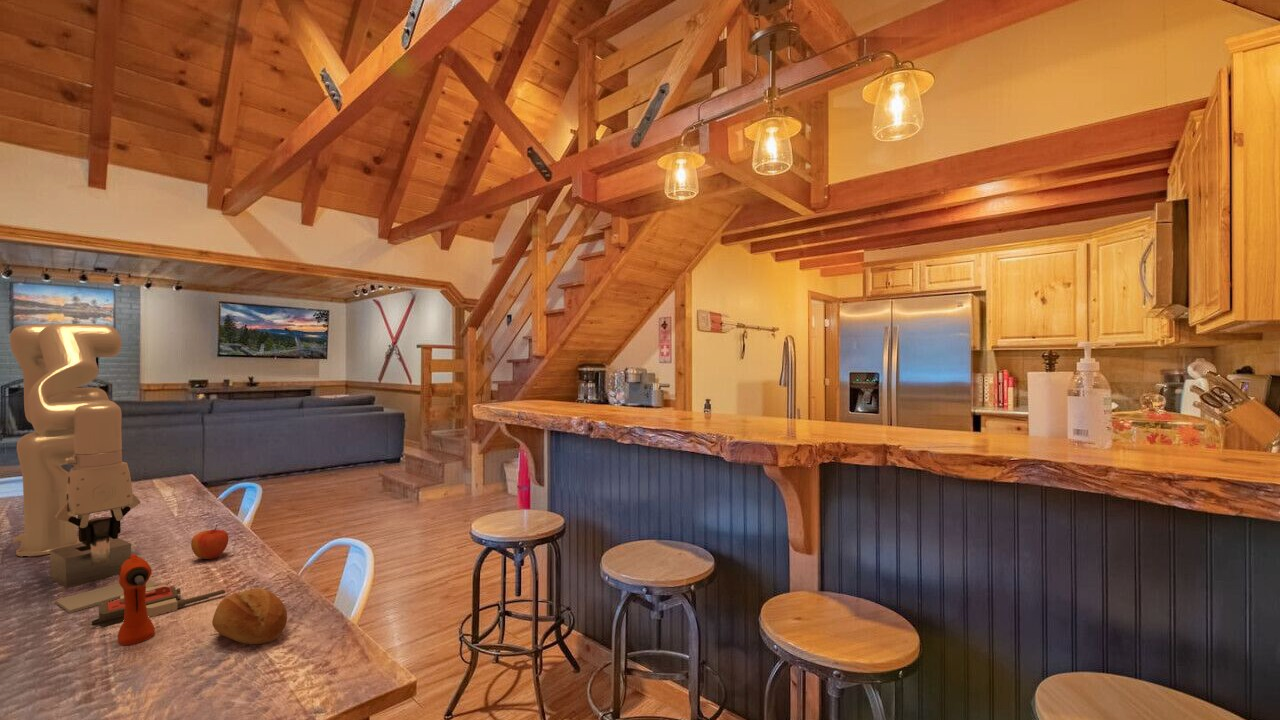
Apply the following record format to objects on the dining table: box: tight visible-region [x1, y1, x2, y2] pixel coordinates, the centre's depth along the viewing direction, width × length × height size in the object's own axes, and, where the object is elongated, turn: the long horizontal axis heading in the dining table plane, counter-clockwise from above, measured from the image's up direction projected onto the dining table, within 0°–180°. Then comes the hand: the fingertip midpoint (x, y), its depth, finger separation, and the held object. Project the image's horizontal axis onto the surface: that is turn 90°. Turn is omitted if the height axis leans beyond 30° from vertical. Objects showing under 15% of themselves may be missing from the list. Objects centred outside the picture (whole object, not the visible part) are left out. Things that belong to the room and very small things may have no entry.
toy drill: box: [117, 553, 156, 646], centre depth 96 cm, size 5×19×15 cm, turn 46°
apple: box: [190, 524, 229, 560], centre depth 137 cm, size 7×7×8 cm
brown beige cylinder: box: [88, 516, 112, 566], centre depth 122 cm, size 4×4×10 cm
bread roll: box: [212, 588, 288, 645], centre depth 99 cm, size 10×15×8 cm, turn 63°
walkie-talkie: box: [90, 583, 226, 627], centre depth 111 cm, size 9×4×20 cm
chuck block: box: [49, 537, 132, 589], centre depth 128 cm, size 11×11×6 cm
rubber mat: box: [54, 578, 160, 614], centre depth 117 cm, size 9×14×1 cm, turn 149°
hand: (100, 540), depth 122 cm, fingers closed on brown beige cylinder, 3 cm apart
